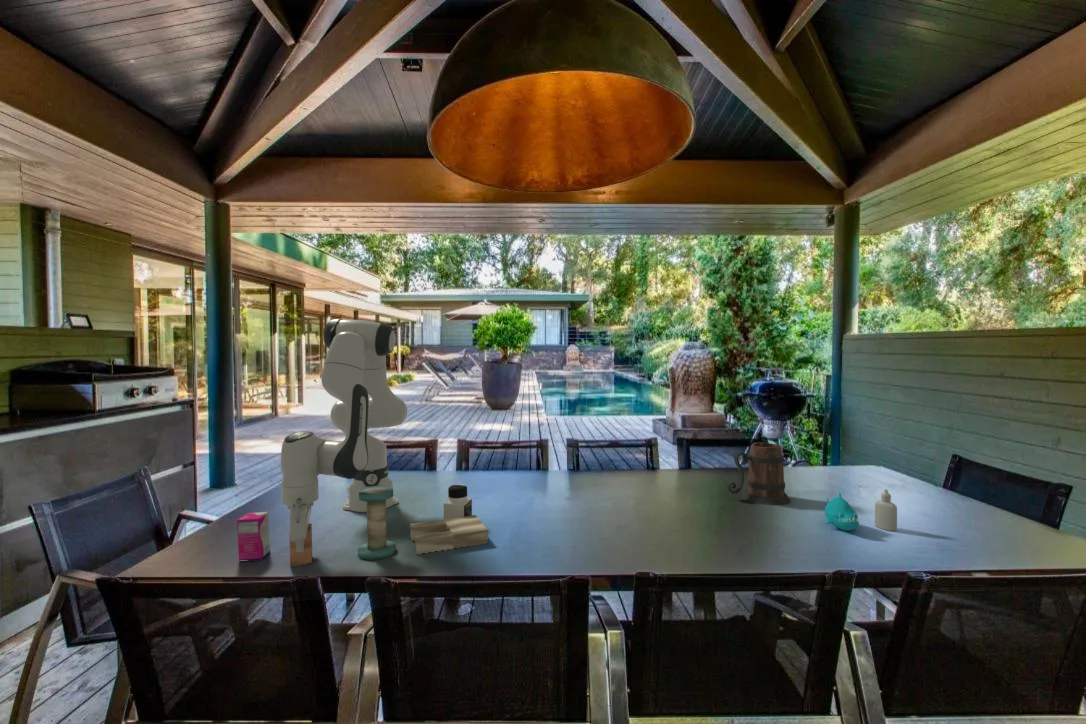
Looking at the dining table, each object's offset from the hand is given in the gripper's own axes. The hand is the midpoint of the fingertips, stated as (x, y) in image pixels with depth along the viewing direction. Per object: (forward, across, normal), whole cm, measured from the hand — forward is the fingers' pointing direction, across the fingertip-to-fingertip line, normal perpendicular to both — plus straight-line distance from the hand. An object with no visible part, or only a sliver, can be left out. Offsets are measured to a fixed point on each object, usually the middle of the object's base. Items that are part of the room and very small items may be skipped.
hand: (301, 545), depth 132 cm
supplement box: (+4, +8, +12) cm, 15 cm away
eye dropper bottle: (+4, -45, -165) cm, 171 cm away
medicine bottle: (+4, +13, -45) cm, 47 cm away
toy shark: (+4, -38, -154) cm, 159 cm away
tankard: (+4, -6, -153) cm, 153 cm away
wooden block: (+4, 0, 0) cm, 4 cm away
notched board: (+4, -1, -39) cm, 39 cm away
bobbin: (+4, -2, -19) cm, 20 cm away
